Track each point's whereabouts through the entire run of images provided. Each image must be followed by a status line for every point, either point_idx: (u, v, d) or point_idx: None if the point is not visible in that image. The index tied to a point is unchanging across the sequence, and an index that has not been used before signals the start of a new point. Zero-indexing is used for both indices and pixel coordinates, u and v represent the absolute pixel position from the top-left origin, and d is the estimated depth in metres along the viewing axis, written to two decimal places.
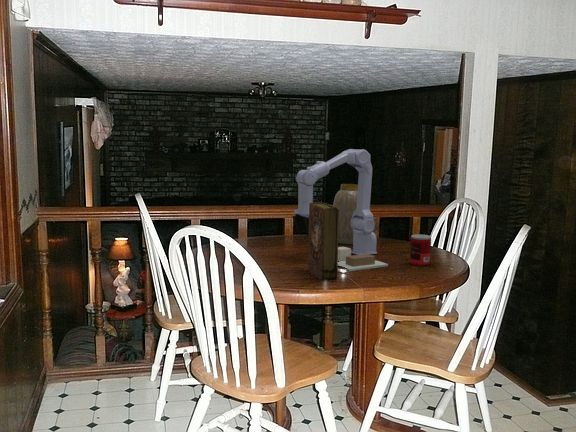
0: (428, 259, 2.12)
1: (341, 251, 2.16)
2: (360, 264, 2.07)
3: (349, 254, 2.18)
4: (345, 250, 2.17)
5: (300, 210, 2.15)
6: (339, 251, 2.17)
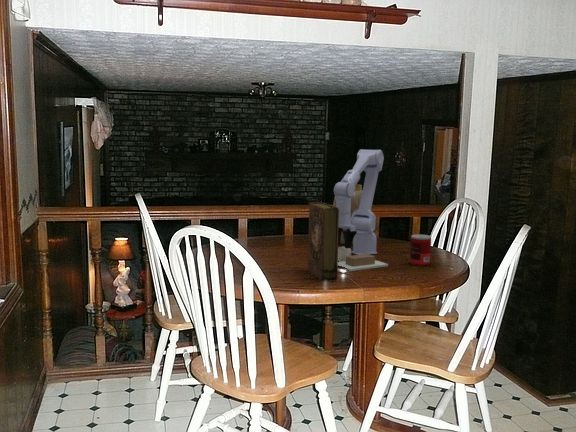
0: (428, 259, 2.12)
1: (341, 251, 2.16)
2: (360, 264, 2.07)
3: (349, 254, 2.18)
4: (345, 250, 2.17)
5: None
6: (339, 251, 2.17)
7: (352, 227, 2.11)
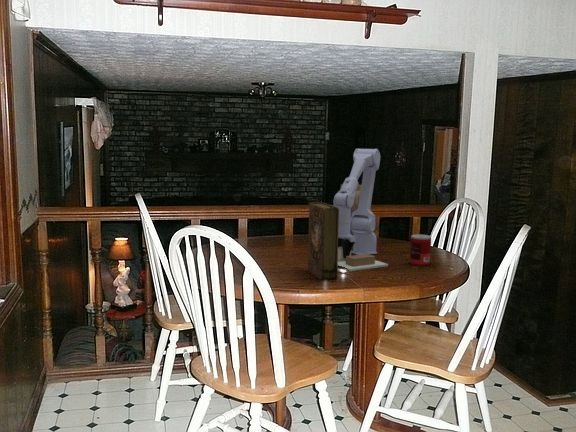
0: (428, 259, 2.12)
1: (341, 251, 2.16)
2: (360, 264, 2.07)
3: None
4: None
5: (338, 233, 2.16)
6: (339, 251, 2.17)
7: (352, 238, 2.12)
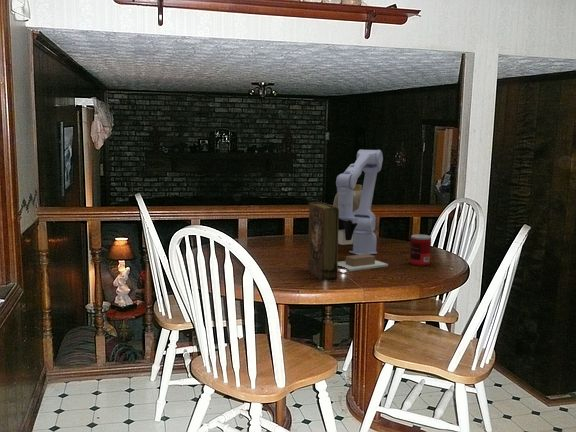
0: (428, 259, 2.12)
1: (343, 233, 2.13)
2: (360, 264, 2.07)
3: None
4: None
5: (340, 214, 2.14)
6: (341, 233, 2.14)
7: (354, 219, 2.09)
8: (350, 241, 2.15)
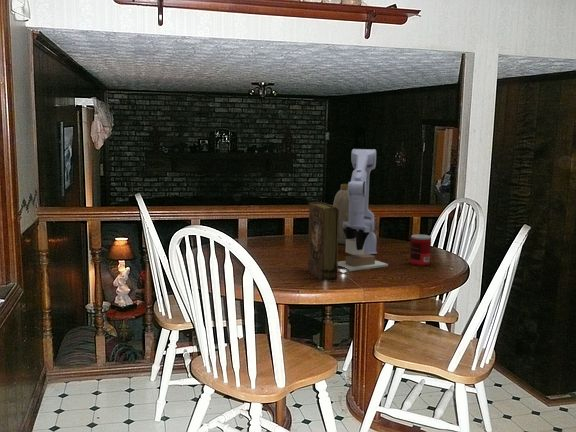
0: (428, 259, 2.12)
1: (354, 243, 2.04)
2: (360, 264, 2.07)
3: None
4: None
5: (351, 223, 2.05)
6: (352, 243, 2.05)
7: (366, 228, 2.00)
8: (361, 251, 2.06)
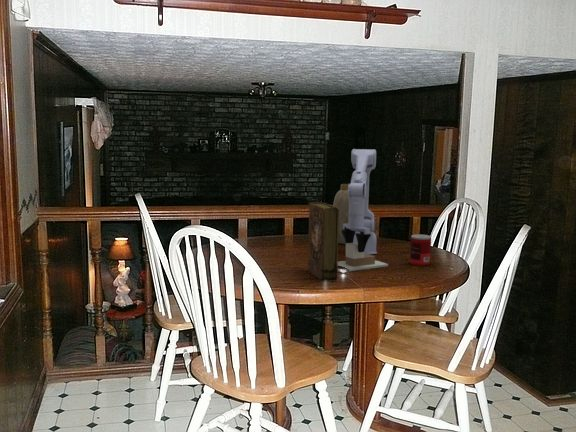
0: (428, 259, 2.12)
1: (354, 247, 2.05)
2: (360, 264, 2.07)
3: None
4: None
5: (351, 224, 2.05)
6: (352, 247, 2.05)
7: (366, 230, 2.00)
8: (361, 255, 2.07)
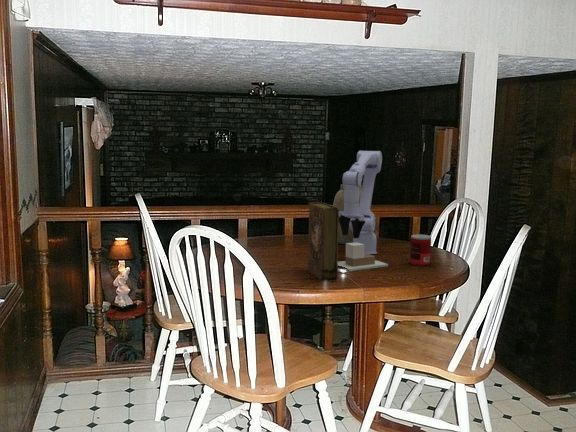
0: (428, 259, 2.12)
1: (354, 247, 2.05)
2: (360, 264, 2.07)
3: (362, 250, 2.07)
4: (358, 246, 2.05)
5: (346, 212, 2.14)
6: (352, 247, 2.05)
7: (361, 217, 2.10)
8: (361, 255, 2.07)
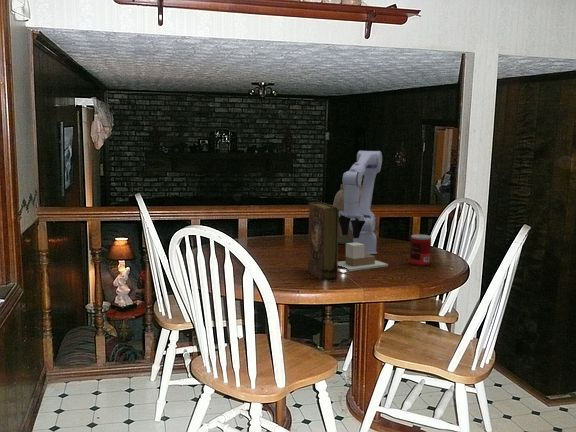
0: (428, 259, 2.12)
1: (354, 247, 2.05)
2: (360, 264, 2.07)
3: (362, 250, 2.07)
4: (358, 246, 2.05)
5: (346, 212, 2.14)
6: (352, 247, 2.05)
7: (361, 216, 2.10)
8: (361, 255, 2.07)
